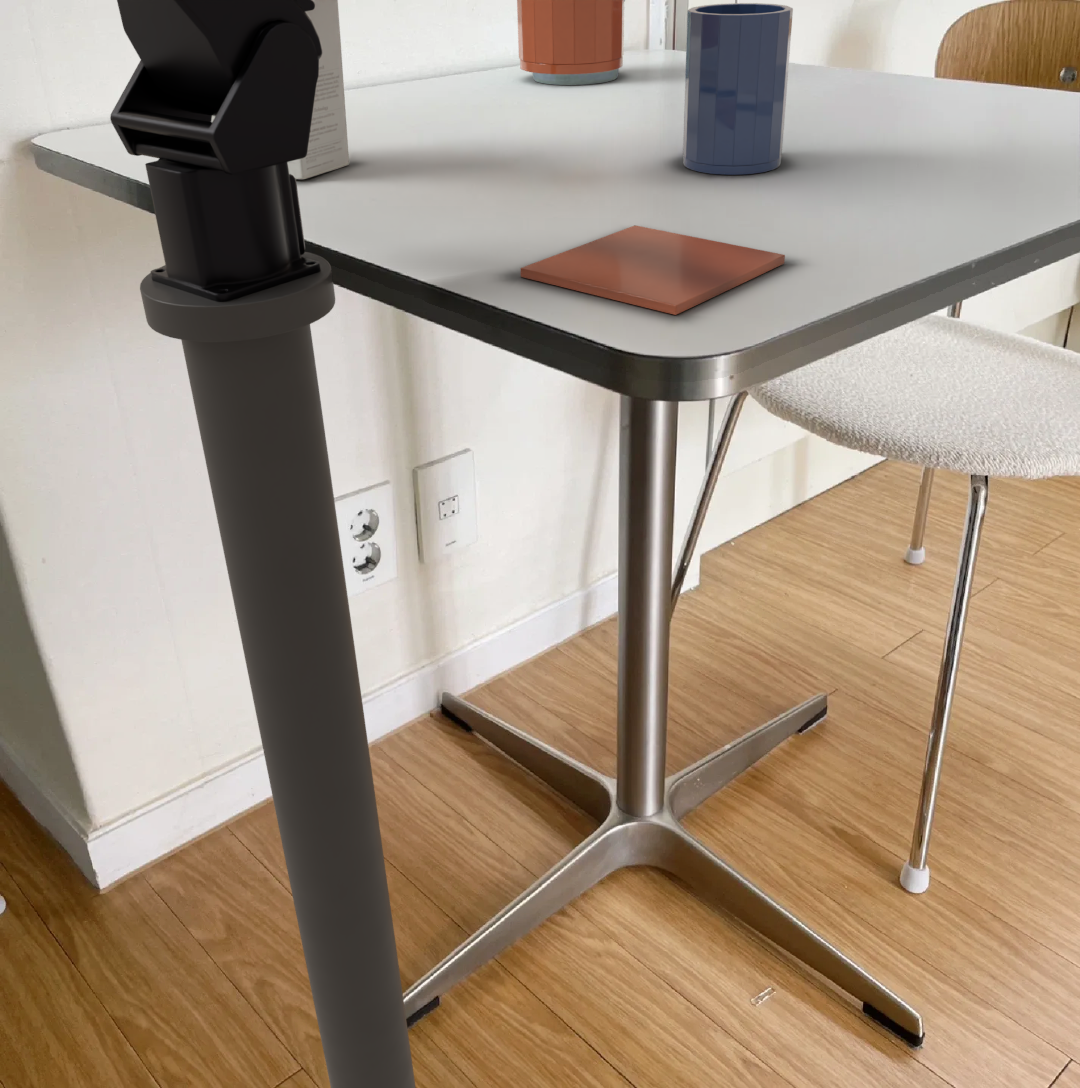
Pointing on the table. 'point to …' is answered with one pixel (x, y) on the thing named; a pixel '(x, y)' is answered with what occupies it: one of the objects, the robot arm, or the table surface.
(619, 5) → the terracotta crock
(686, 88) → the blue crock
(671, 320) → the table surface
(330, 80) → the cosmetic box
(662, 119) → the table surface
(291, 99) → the robot arm
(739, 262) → the plate
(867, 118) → the table surface
